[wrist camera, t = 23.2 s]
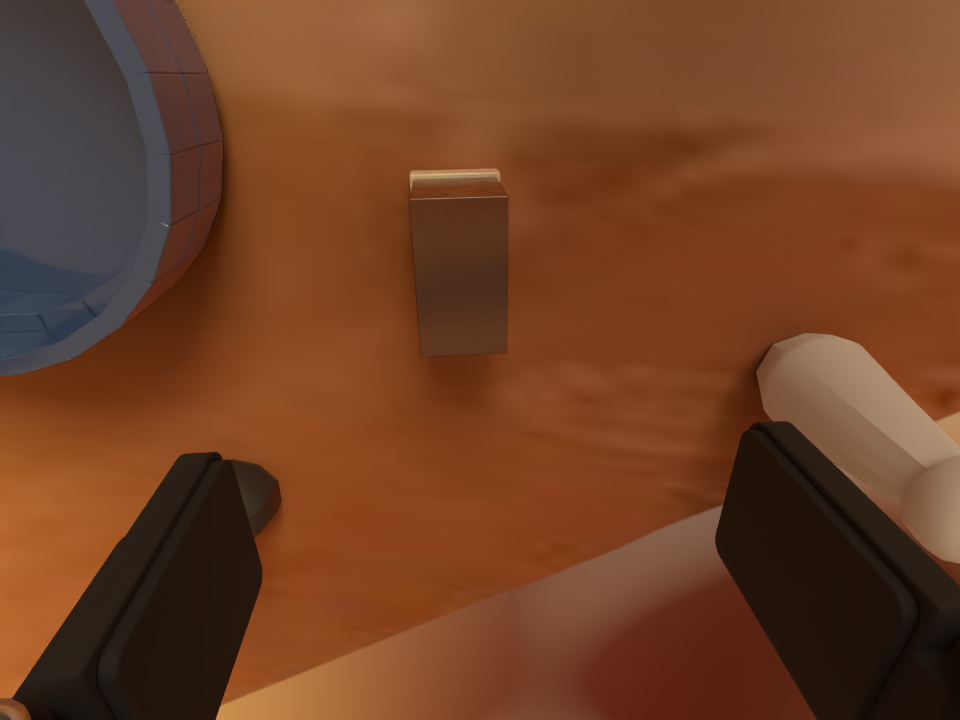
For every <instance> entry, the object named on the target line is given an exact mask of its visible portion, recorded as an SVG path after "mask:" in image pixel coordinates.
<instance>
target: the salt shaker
mask: <svg viewBox="0 0 960 720" xmlns="http://www.w3.org/2000/svg"><path fill="white" fill-rule="evenodd" d="M756 374H757V378H758V383H759V388H760V393H761V398H762V404H763V409H764V411H765V412H766V414H767V415H768V416H769V417H770V418H771V419H772V421H788V422H790V423H791V424H793V425H794V426H795V427H796V428H797V429H798V430H799V431H800V432H801V433H802V434H803V435H804V436H805V437H806V438H807V439H808V440H809V441H811V442H812V443H813V444H814V445H815V446H816V447H817V448H818V449H819V450H820V451H821V452H822V453H823V454H824V455H825V456H826V457H827V458H828V459H829V460H830V461H831V462H833V463H834V464H836V465H837V466H839V467H840V468H842V469H844V470H845V471H847V472H848V473H850V474H851V475H853V476H854V477H856V478H858V479H859V480H861V481H862V482H864V483H865V484H867V485H868V486H870V487H871V488H873V489H874V490H876V491H878V492H879V493H881V494H882V495H884V496H885V497H887V498H888V499H890V500H891V501H893V502H894V503H896V504H898V505H899V506H900V518H901V519H902V522H903V524H904V525H905V526H906V527H907V529H908V530H909V531H910V532H911V533H912V534H913V535H914V537H915V538H916V539H917V540H918V541H919V542H920V543H921V544H922V545H923V546H924V547H925V548H926V549H927V550H928V551H930V552H931V553H933V554H934V555H936V556H937V557H939V558H940V559H941V560H946V561H951V562H956V563H960V447H959V446H958V445H957V444H956V443H955V442H954V441H953V440H952V439H951V438H950V437H949V436H948V435H947V434H946V433H945V432H944V431H943V430H942V429H941V428H940V427H939V426H938V425H937V424H936V423H935V422H934V421H933V420H932V419H931V418H930V417H929V416H928V415H927V414H926V413H925V412H924V411H923V410H922V409H921V408H920V407H919V406H918V405H917V404H916V403H915V402H914V401H913V400H912V399H911V398H910V397H909V396H908V395H907V394H906V393H905V392H904V390H903V389H902V388H901V387H900V386H899V385H898V384H897V383H896V382H895V381H894V380H893V379H892V378H891V377H890V376H889V375H888V373H887V372H886V371H885V370H884V369H883V368H882V367H881V366H880V365H879V364H878V363H877V362H876V361H875V360H874V359H873V358H872V357H871V355H870V354H869V353H868V352H867V351H866V350H865V349H864V348H863V347H862V346H861V345H860V344H858V343H855V342H853V341H850V340H847V339H844V338H841V337H837V336H834V335H828V334H813V333H803V334H800V335H798V336H795V337H792V338H789V339H786V340H783V341H781V342H778V343H775V344H773V345H772V346H771V348H770V350H769V351H768V353H767V355H766V356H765V358H764V359H763V361H762V363H761V364H760V366H759V368H758V369H757V371H756Z"/></svg>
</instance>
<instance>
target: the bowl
mask: <svg viewBox="0 0 960 720" xmlns="http://www.w3.org/2000/svg"><path fill="white" fill-rule="evenodd" d="M222 138H223V137H222V132H221V127H220V123H219V118H218V114H217V109H216V105H215V100H214V95H213V91H212V86H211V82H210V77H209V75H208V71H207V68H206V66H205V64H204V62H203V60H202V58H201V55H200V53H199V51H198V49H197V47H196V45H195V42H194V40H193V38H192V36H191V34H190V32H189V29H188V27H187V25H186V23H185V21H184V19H183V16H182V14H181V12H180V10H179V8H178V6H177V4H175V1H174V0H0V376H13V375H21V374H25V373H28V372H31V371H35V370H38V369H41V368H45V367H48V366H51V365H55V364H58V363H61V362H65V361H68V360H71V359H74V358H75V357H78V356H79V355H81V354H82V353H84V352H85V351H87V350H88V349H90V348H91V347H93V346H94V345H96V344H97V343H99V342H100V341H102V340H103V339H105V338H106V337H108V336H109V335H111V334H112V333H114V332H115V331H117V330H118V329H119V328H121V327H122V326H123V325H124V324H126V323H127V322H128V321H129V320H131V319H132V318H133V317H134V316H136V315H137V314H138V313H140V312H141V311H142V310H143V309H145V308H146V307H147V306H148V305H149V304H151V303H152V302H153V301H155V300H156V299H157V298H158V297H160V296H161V295H162V294H163V293H165V292H166V291H167V290H168V289H170V288H171V287H172V286H173V285H175V284H176V283H177V282H178V280H179V279H180V278H181V276H182V275H183V274H184V272H185V271H186V270H187V268H188V267H189V266H190V265H191V263H192V262H193V261H194V259H195V258H196V257H197V255H198V254H199V253H200V251H201V250H202V249H203V248H204V245H205V244H206V241H207V238H208V235H209V232H210V229H211V226H212V223H213V220H214V217H215V214H216V212H217V209H218V206H219V203H220V200H221V198H220V197H221V188H222V162H223V140H222Z"/></svg>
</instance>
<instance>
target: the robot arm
mask: <svg viewBox="0 0 960 720" xmlns="http://www.w3.org/2000/svg"><path fill="white" fill-rule="evenodd" d="M715 543H716V548H717V551H718V554H719V555H720V557H721V559H722V561H723V563H724V564H725V566H726V568H727V569H728V571H729V573H730V574H731V576H732V578H733V579H734V581H735V583H736V584H737V586H738V588H739V589H740V591H741V593H742V594H743V595H744V598H745V599H746V601H747V603H748V604H749V606H750V608H751V609H752V611H753V613H754V615H755V616H756V618H757V619H758V621H759V623H760V625H761V626H762V628H763V630H764V631H765V633H766V635H767V636H768V638H769V640H770V641H771V643H772V645H773V646H774V648H775V650H776V652H777V653H778V655H779V656H780V658H781V660H782V662H783V663H784V665H785V667H786V668H787V670H788V672H789V673H790V675H791V677H792V678H793V680H794V682H795V683H796V685H797V687H798V688H799V690H800V692H801V693H802V695H803V697H804V699H805V700H806V702H807V704H808V705H809V707H810V709H811V710H812V712H813V714H814V715H815V717H816V719H817V720H960V586H959V585H958V584H957V583H956V582H955V581H954V580H953V579H952V578H951V577H950V576H949V575H948V574H947V573H946V572H945V571H944V570H942V568H941V567H940V566H939V565H937V564H936V563H935V562H934V561H933V560H932V559H931V558H930V557H929V556H928V555H927V554H926V553H925V552H924V551H923V550H922V549H921V548H920V547H919V546H918V545H917V544H916V543H915V542H914V541H913V540H911V538H910V537H909V536H908V535H907V534H905V533H904V532H903V531H902V530H901V529H900V528H899V527H898V526H897V525H896V524H895V523H894V522H893V521H892V520H891V519H890V518H889V517H888V516H887V515H886V514H885V513H884V512H883V511H882V510H881V509H880V508H879V507H878V506H877V505H876V504H875V503H873V502H872V501H871V500H870V499H869V498H868V497H867V496H866V495H865V494H864V493H863V492H862V491H861V490H860V489H859V488H858V487H857V486H856V485H855V484H854V483H853V482H852V481H851V480H850V479H849V478H848V477H847V476H846V475H844V473H843V472H841V471H840V470H839V469H838V468H837V467H836V466H835V465H834V464H833V463H832V462H831V461H830V460H829V459H828V458H827V457H826V456H825V455H824V454H823V453H822V452H821V451H820V450H819V449H818V448H817V447H816V446H815V445H814V444H813V443H812V442H811V441H809V440H808V439H807V438H806V437H805V436H804V435H803V434H802V433H801V432H800V431H799V430H798V429H797V428H796V427H795V426H794V425H793V424H791V423H790V422H788V421H773V422H757V423H754V424H753V425H752V426H751V427H750V429H749V431H745V432H744V433H743V434H742V436H741V439H740V443H739V447H738V450H737V454H736V458H735V462H734V466H733V470H732V474H731V477H730V481H729V485H728V489H727V493H726V497H725V501H724V504H723V508H722V512H721V516H720V520H719V524H718V528H717V531H716V537H715ZM261 583H262V565H261V562H260V558H259V555H258V551H257V548H256V544H255V540H254V537H253V533H252V530H251V526H250V523H249V519H248V516H247V512H246V509H245V505H244V502H243V498H242V495H241V491H240V488H239V484H238V481H237V477H236V474H235V470H234V467H233V464H232V462H231V461H230V460H223V459H222V456H221V455H220V454H219V453H217V452H208V453H190V454H183V455H181V456H180V457H179V458H178V459H177V460H176V462H175V463H174V465H173V466H172V468H171V469H170V471H169V472H168V474H167V475H166V476H165V478H164V479H163V481H162V482H161V484H160V485H159V487H158V488H157V490H156V491H155V493H154V494H153V496H152V497H151V499H150V500H149V502H148V503H147V505H146V506H145V508H144V509H143V511H142V512H141V514H140V515H139V517H138V518H137V520H136V521H135V523H134V524H133V525H132V527H131V528H130V530H129V531H128V533H127V534H126V536H125V537H123V538H122V539H121V540H120V542H119V543H118V544H117V545H116V546H115V548H114V549H113V551H112V552H111V554H110V555H109V557H108V558H107V560H106V561H105V563H104V564H103V565H102V567H101V568H100V570H99V571H98V573H97V574H96V576H95V577H94V579H93V580H92V582H91V583H90V585H89V586H88V588H87V589H86V590H85V592H84V593H83V595H82V596H81V598H80V599H79V601H78V602H77V604H76V605H75V607H74V608H73V610H72V611H71V613H70V614H69V615H68V617H67V618H66V620H65V621H64V623H63V624H62V626H61V627H60V629H59V630H58V632H57V633H56V635H55V636H54V638H53V639H52V640H51V642H50V643H49V645H48V646H47V648H46V649H45V651H44V652H43V654H42V655H41V657H40V658H39V660H38V661H37V663H36V664H35V665H34V667H33V668H32V670H31V671H30V673H29V674H28V676H27V677H26V679H25V680H24V682H23V683H22V685H21V686H20V688H19V689H18V690H17V692H16V693H15V695H14V696H13V698H12V699H0V720H216V716H217V714H218V710H219V708H220V705H221V702H222V699H223V696H224V693H225V690H226V687H227V684H228V681H229V678H230V675H231V673H232V670H233V667H234V664H235V661H236V658H237V655H238V652H239V649H240V646H241V643H242V640H243V637H244V634H245V631H246V629H247V626H248V623H249V620H250V617H251V614H252V611H253V608H254V605H255V602H256V599H257V596H258V593H259V590H260V587H261Z"/></svg>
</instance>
